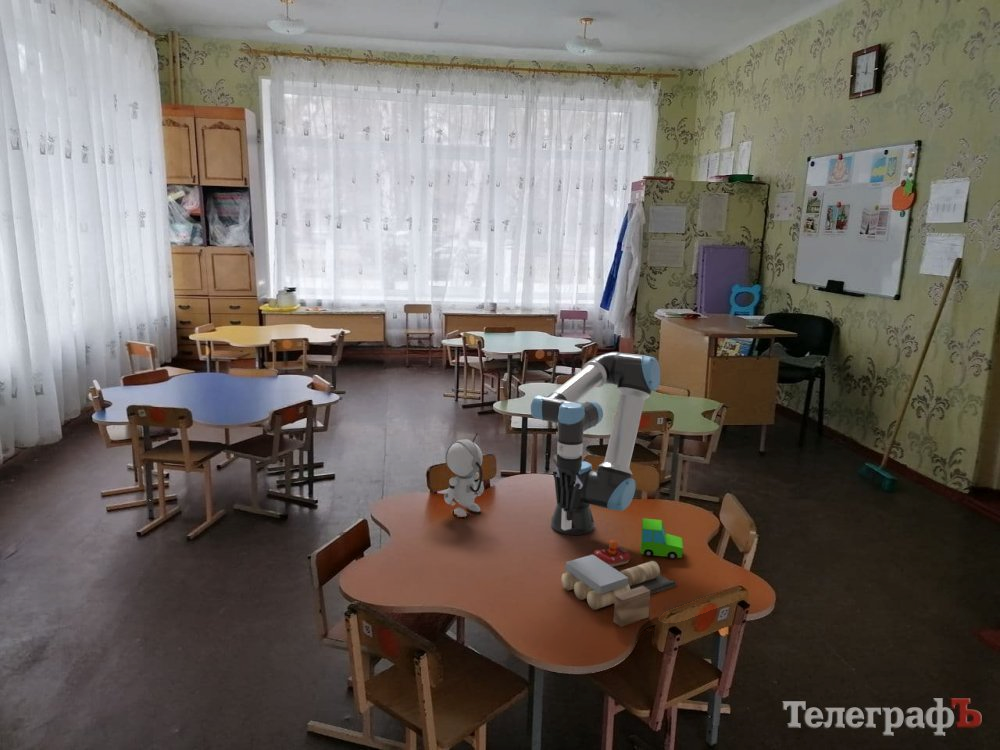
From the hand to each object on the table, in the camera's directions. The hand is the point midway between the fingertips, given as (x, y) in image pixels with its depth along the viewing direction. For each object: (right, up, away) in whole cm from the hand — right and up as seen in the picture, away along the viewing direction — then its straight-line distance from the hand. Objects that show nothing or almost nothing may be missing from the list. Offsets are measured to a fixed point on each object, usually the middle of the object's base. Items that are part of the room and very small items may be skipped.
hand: (566, 528), depth 215 cm
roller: (+22, -15, -3) cm, 27 cm away
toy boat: (+15, -13, +10) cm, 22 cm away
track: (+18, -17, -8) cm, 26 cm away
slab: (+8, -12, -10) cm, 18 cm away
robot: (-32, -4, +45) cm, 55 cm away
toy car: (+33, -12, +16) cm, 38 cm away
